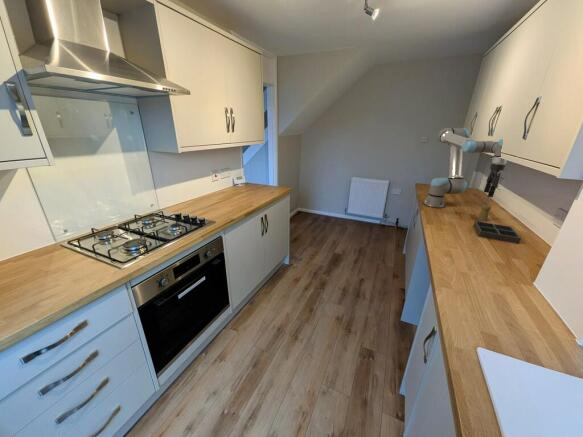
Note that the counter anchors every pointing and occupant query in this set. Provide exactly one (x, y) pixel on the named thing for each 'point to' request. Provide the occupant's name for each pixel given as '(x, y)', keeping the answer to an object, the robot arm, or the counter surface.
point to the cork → (484, 213)
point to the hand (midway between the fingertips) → (487, 194)
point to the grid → (496, 232)
